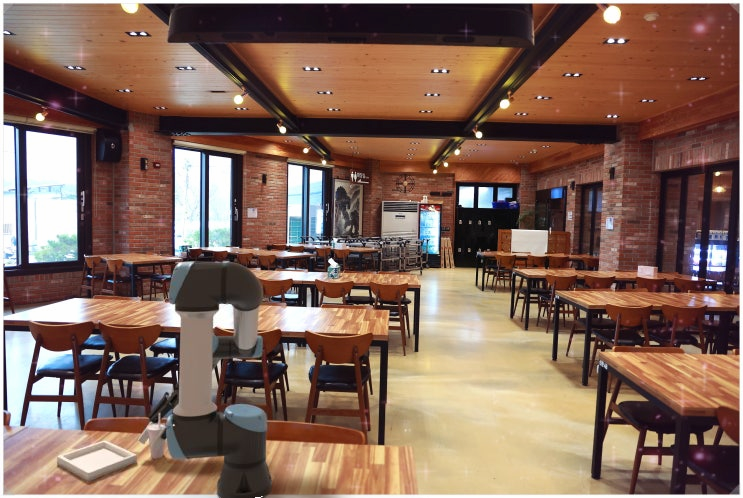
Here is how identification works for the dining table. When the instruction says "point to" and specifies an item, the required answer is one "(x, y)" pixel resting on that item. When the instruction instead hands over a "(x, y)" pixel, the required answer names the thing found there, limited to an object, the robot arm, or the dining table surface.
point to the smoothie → (153, 433)
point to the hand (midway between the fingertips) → (147, 444)
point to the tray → (96, 460)
